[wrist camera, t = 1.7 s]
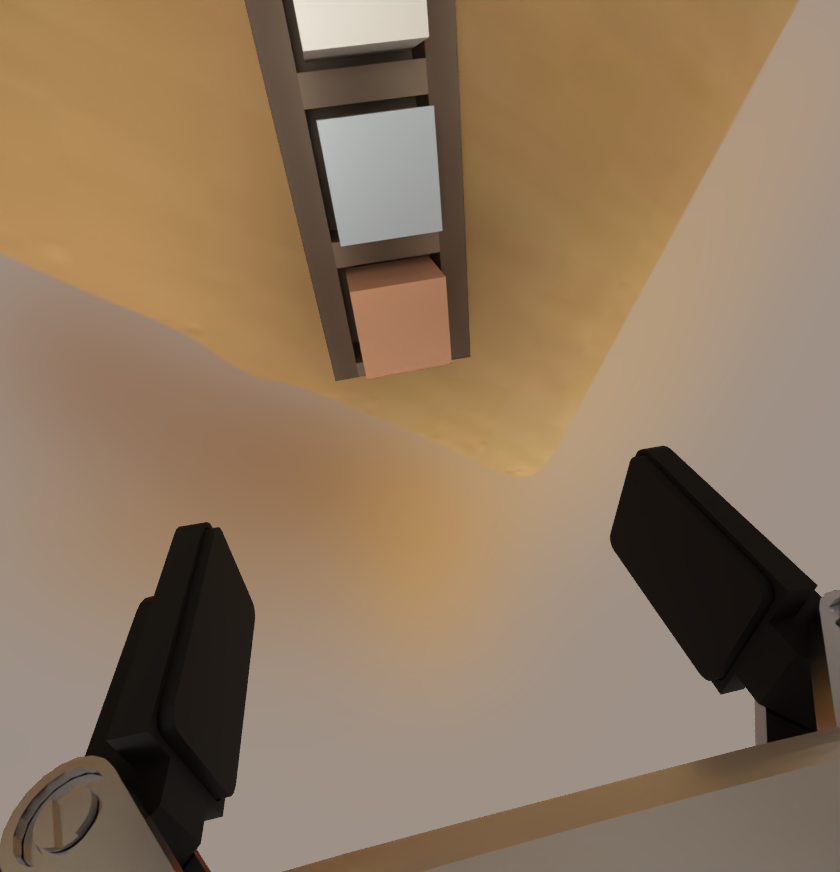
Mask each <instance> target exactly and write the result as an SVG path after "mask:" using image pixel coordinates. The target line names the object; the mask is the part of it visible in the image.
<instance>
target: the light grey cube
mask: <svg viewBox="0 0 840 872" xmlns="http://www.w3.org/2000/svg"><path fill="white" fill-rule="evenodd" d="M316 122H317V127H318V133H319V138H320V143H321V148H322V153H323V158H324V163H325V169H326V174H327V179H328V184H329V189H330V194H331V199H332V205H333V210H334V215H335V220H336V225H337V230H338V235H339V240H340V245H341V247H342V246H348V245H354V244H361V243H367V242H374V241H380V240H387V239H393V238H400V237H406V236H413V235H419V234H426V233H432V232H439V231H443V230H442V216H441V201H440V187H439V172H438V158H437V143H436V129H435V114H434V106H422V107H411V108H404V109H396V110H388V111H380V112H372V113H365V114H357V115H349V116H341V117H333V118H326V119H318V120H316Z"/></svg>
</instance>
